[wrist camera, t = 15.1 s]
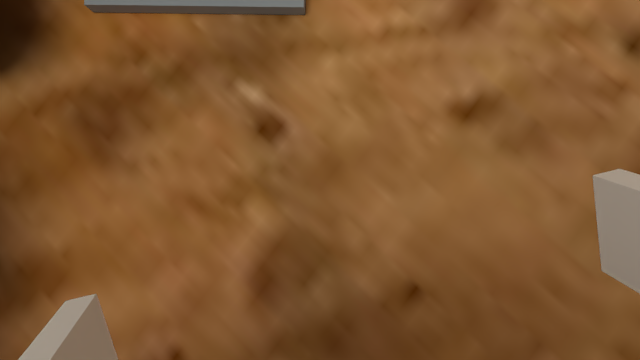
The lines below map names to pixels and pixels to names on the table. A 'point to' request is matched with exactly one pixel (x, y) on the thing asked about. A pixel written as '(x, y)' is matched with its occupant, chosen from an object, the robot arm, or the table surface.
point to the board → (199, 6)
